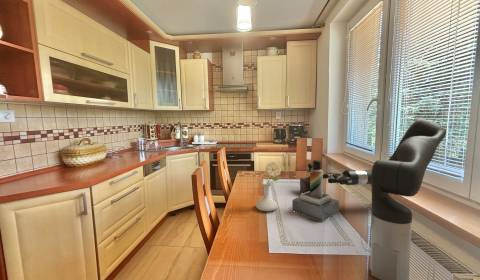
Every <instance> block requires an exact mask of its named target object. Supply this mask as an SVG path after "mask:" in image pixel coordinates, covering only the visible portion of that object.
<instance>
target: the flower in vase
mask: <svg viewBox="0 0 480 280" xmlns="http://www.w3.org/2000/svg"><path fill="white" fill-rule="evenodd" d="M265 172H266V174H267V175H268V176H270V178H269V179H268V178H266V177H263V176H261V178H262V179H264V180H267V181H262V182H261V184H262V186H263V189H264V195H263V197H262V198H261V199H259V200H258V201H257V202H256V203H255V207H256V209H258V210H259V211H263V212H273V211H276V210H277V209H278V203H277V202H276V201H275V200H273V199H272V198H271V197H270V187H271V185H272V182H271V180H272V181H273V182H277V181H280V178H279V177H278V176H279V175H280V174H281V172H282V168H281V167H280V164H279V163H278V162H275V161H270V162H269V163H266V167H265Z"/></svg>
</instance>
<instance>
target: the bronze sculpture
mask: <svg viewBox="0 0 480 280" xmlns="http://www.w3.org/2000/svg"><path fill="white" fill-rule="evenodd" d="M307 167H308V170H307V171H306V173H309V176H306V177H301V178H299V192H300V194H302V193H306V192H308V191H310V175H311V169H313V163H312V162H311V163H308V164H307ZM322 191H323V189H322Z"/></svg>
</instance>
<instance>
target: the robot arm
mask: <svg viewBox="0 0 480 280" xmlns="http://www.w3.org/2000/svg"><path fill="white" fill-rule="evenodd" d="M446 134H447V129H446V128H445V127H443V126H442V125H440V124H437V123H435V122H433V121H430V120H427V119H425V118H423V117H420V118H418V119H415V121H413V122H412V124H411V125H410V126H409V127H408V128H407V130H406V132H405V133H404V135H403V136H402V138H401V139H400V141H399V143H398V145H397V146H396V148H395V151H394V152H393V153H392V154H391V156H390V157H389V159H377V160H376V161H374V162H373V165H372V168H371V169H362V170H361V169H349V170H348V169H345V170H343V172H342V173H340V172H325V173H323V179H327V183H328V184H337V185H338V184H339V185H341V186H342V185H346V186H361V185H370V186H371V226H370V227H371V233H370V253H369V254H370V256H369V257H370V259H369V269H370V272H371V276H372V277H374V278H376V279H378V280H410V265H411V248H412V247H411V245H412V244H411V243H412V229H413V228H412V227H413V226H412V225H413V213H412V210H411V209H410V208H409V207H407V206H406V205H404V204H402V203H400V202H398V201H397V200H395V198H393V197H392V196H391V195H395V196H396V195H397V196H401V197H409V198H411V197H414V196H416V195H417V194H418V193H419V191H420V189H421V186H422V184H423V180H424V177H425V172H426V170H427V168H428V166H429V164H430V163H431V161H432V160H433V158H434V156H435V153H436V151H437V148H438V146H439V145H440V144H441V143H442V142H443V140H444V138H445V137H446ZM390 194H391V195H390Z"/></svg>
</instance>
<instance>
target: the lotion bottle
mask: <svg viewBox="0 0 480 280" xmlns="http://www.w3.org/2000/svg"><path fill="white" fill-rule="evenodd" d="M312 164H313V168H312V169H311V175H310V174H309V176H310V197H313V198H316V199H321V198H322V193H323V190H322V189H323V183H324V180H323V174H324V170H323V169H322V168H321V167H322V161H321V160H319V159H313V161H312Z"/></svg>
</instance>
